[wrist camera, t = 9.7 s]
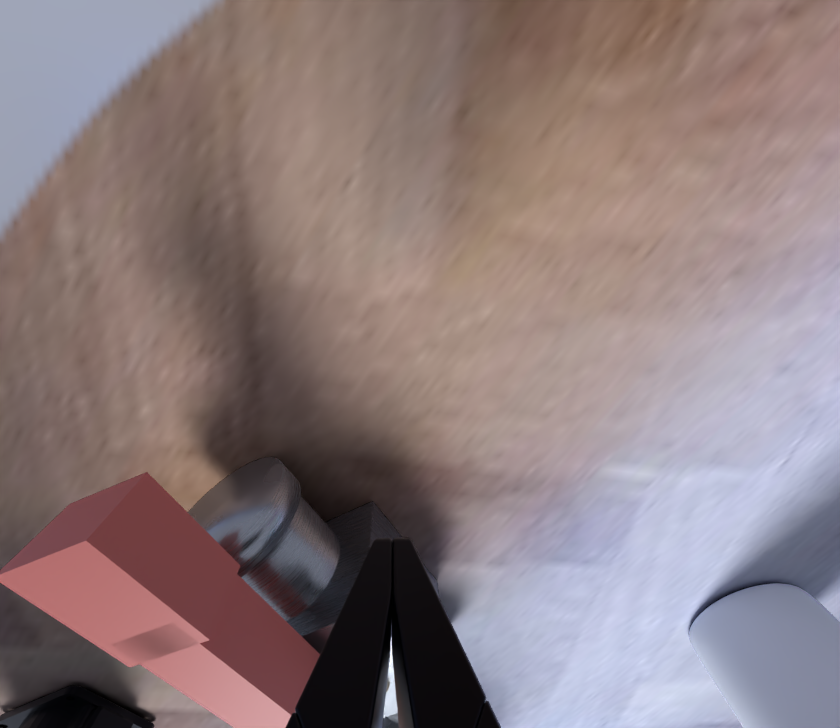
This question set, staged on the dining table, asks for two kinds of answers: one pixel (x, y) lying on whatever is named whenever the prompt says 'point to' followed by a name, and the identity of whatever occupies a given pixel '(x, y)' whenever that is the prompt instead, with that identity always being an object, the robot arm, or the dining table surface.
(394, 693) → the valve
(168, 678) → the lever
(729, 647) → the pill bottle
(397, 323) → the dining table surface
